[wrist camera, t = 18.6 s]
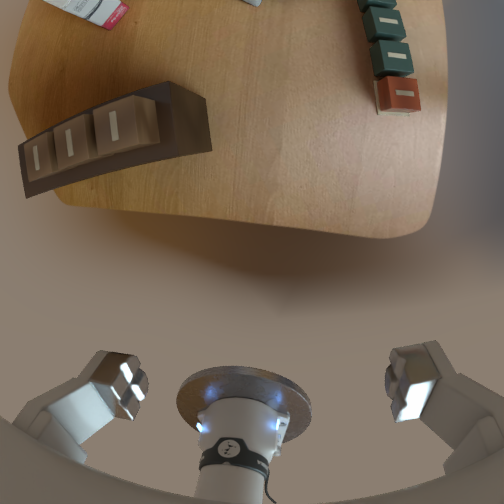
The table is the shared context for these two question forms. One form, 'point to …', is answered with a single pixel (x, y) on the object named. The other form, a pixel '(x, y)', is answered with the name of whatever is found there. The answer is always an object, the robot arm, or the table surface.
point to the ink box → (94, 10)
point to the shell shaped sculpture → (254, 2)
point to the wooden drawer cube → (398, 94)
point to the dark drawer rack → (116, 137)
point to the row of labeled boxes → (386, 42)
